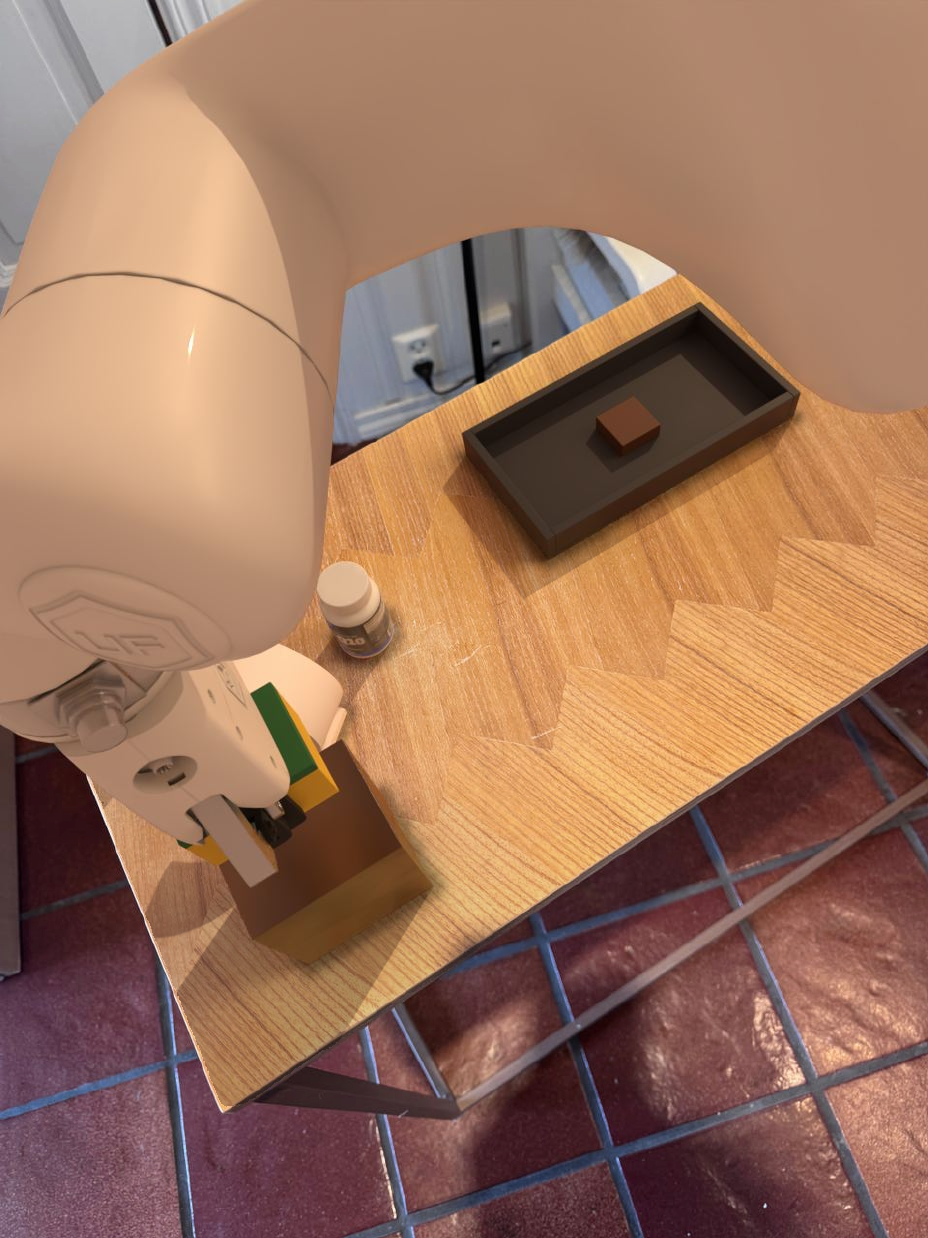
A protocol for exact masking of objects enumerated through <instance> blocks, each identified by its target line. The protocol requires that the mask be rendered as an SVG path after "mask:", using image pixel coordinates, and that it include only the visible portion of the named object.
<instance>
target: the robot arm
mask: <svg viewBox="0 0 928 1238" xmlns="http://www.w3.org/2000/svg"><path fill="white" fill-rule="evenodd" d="M546 227H547V228H555V229H568V230H577V231H579V230H580V231H583V232H587V233H591V234H595V235H600V236H602V237H606V238H609V239H614V240H616V241H619V242H621V243H623V244H626V245H627V246H630V247H633V248H634V249H637V250H640V251H641V252H644V253H645V254H647V255H648V256H650V257H652V258H653V259H655V260H657V261H659V262H661V263H662V264H663V265H664V266H665V265H666V266H667V267H668V268H671V270H673V271H675V272H676V273H678V275H680V276H681V277H682V278H684V279H686V280H687V281H688V282H689V283H691V284H692V285H694V286H695V287H696V288H697V289H699V290H700V291H701V292H703V293H704V294H705V295H707V296H708V297H709V298H710V299H711V300H712V301H714V302H715V303H716V304H717V305H718V306H719V307H721V308H722V309H723V310H724V311H725V312H726V313H728V314H729V316H731V317H732V318H733V319H734V320H735V321H736V322H737V323H738V325H740V327H742V329H744V330H745V331H746V332H747V333H748V334H749V336H751V337H752V338H753V339H754V341H756V343H757V344H759V346H760V347H761V348H763V350H764V351H766V353H767V354H768V355H769V356H771V358H773V359H774V361H776V362H777V363H778V365H780V367H781V368H783V369H784V370H785V372H786V373H787V374H788V375H790V377H792V379H794V381H796V382H797V383H799V385H802V386H803V387H804V388H806V389H807V390H809V391H810V392H811V393H813V394H814V395H815V396H817V397H818V398H820V399H821V400H822V401H825V402H827V403H829V404H832V405H834V406H836V407H837V406H838V407H840V408H842V409H845V410H847V411H849V412H850V411H851V412H852V413H859V414H861V413H862V414H873V415H885V416H890V415H893V414H898V413H899V414H900V413H905V412H910V411H914V410H918V409H922V408H925V407H928V0H242V1H241V2H239V3H238V4H236V5H234V6H233V7H231V8H229V9H227V10H226V11H224V12H223V13H221V14H219V15H218V16H216V17H214V18H212V19H211V20H209V21H207V22H206V23H203V25H200V26H199V27H197V28H195V29H194V30H192V31H191V32H189V33H187V34H186V35H184V36H182V37H181V38H179V39H177V40H176V41H174V42H172V43H171V44H170V45H168V46H166V47H164V48H163V49H162V50H160V51H159V52H157V53H155V54H153V55H152V56H151V57H150V58H148V59H146V60H145V61H143V62H142V63H141V64H139V65H137V66H136V67H135V68H134V69H132V70H130V71H129V72H128V73H127V74H125V76H123V77H122V78H121V79H120V80H118V81H117V82H116V83H115V84H114V85H113V86H111V88H110V89H108V90H107V91H106V92H105V93H103V94H102V95H101V97H100V98H99V99H97V101H96V102H94V103H93V105H91V107H90V108H89V109H88V110H87V111H86V112H85V114H84V115H83V117H82V118H81V119H80V120H79V122H78V123H77V124H76V126H75V127H74V129H73V130H72V131H71V133H70V134H69V136H67V138H66V140H65V141H64V142H63V144H62V146H61V148H60V149H59V151H58V153H57V155H56V158H55V160H54V162H53V165H52V167H51V170H50V173H49V175H48V178H47V180H46V182H45V185H44V188H43V190H42V192H41V195H40V198H39V200H38V203H37V206H36V208H35V211H34V213H33V216H32V218H31V221H30V225H29V228H28V231H27V233H26V236H25V239H24V243H23V245H22V248H21V251H20V255H19V258H18V261H17V264H16V266H15V270H14V272H13V275H12V279H11V282H10V285H9V288H8V291H7V294H6V297H5V299H4V303H3V306H2V309H1V312H0V726H2V727H3V728H5V729H7V730H9V731H11V732H12V733H14V734H15V735H17V736H20V737H23V738H25V739H27V740H30V741H35V742H42V743H48V744H54V746H55V747H56V748H57V749H58V750H59V752H61V754H63V755H64V756H65V757H66V758H67V759H68V760H69V761H70V762H71V763H72V764H74V765H75V767H76V768H78V769H79V770H80V771H81V772H82V773H84V774H85V775H86V776H87V777H88V778H90V780H92V781H93V782H94V783H96V784H97V785H98V786H99V787H100V788H101V789H102V790H104V792H106V793H107V794H109V795H110V796H111V797H112V798H114V799H115V800H116V801H118V802H119V803H121V804H122V806H124V807H126V808H127V809H128V810H129V811H131V813H134V814H135V815H136V816H138V817H139V818H141V819H142V820H143V821H145V822H147V824H150V826H152V827H153V828H156V829H157V830H159V831H161V832H162V833H164V834H166V835H167V836H169V837H171V838H173V839H175V840H176V839H178V840H180V841H182V842H185V843H188V844H193V845H204V844H205V843H206V841H205V838H206V837H208V836H209V835H208V833H209V834H210V835H211V837H212V838H213V839H214V841H215V842H216V843H217V845H218V846H219V847H220V849H221V850H222V851H223V853H224V854H225V855H226V857H227V858H228V859H229V861H230V862H231V863H232V865H233V866H234V867H235V869H236V870H237V871H238V873H239V874H240V875H241V877H242V878H243V879H244V881H245V882H246V883H247V885H248V886H249V887H250V888H253V887H254V886H256V885H257V884H259V883H261V882H262V881H264V880H265V879H267V878H269V877H270V876H272V875H273V874H275V873H277V872H278V866H277V861H276V857H275V852H274V850H273V849H275V848H276V847H278V846H280V845H281V844H283V843H285V842H286V841H288V840H289V839H290V838H291V836H292V832H291V830H292V829H293V828H295V827H297V826H298V825H300V824H302V823H303V822H304V821H305V820H306V819H307V817H306V815H305V813H304V811H303V809H302V808H301V807H300V806H299V805H298V804H297V803H296V802H295V801H293V800H292V799H291V798H290V797H289V796H288V795H287V793H288V790H289V785H290V776H289V773H288V770H287V767H286V765H285V763H284V760H283V758H282V756H281V754H280V752H279V750H278V748H277V746H276V744H275V742H274V740H273V738H272V736H271V734H270V732H269V730H268V728H267V726H266V724H265V722H264V720H263V718H262V716H261V714H260V712H259V710H258V708H257V706H256V704H255V702H254V701H253V699H252V697H251V695H250V693H249V691H248V689H247V687H246V685H245V683H244V681H243V679H242V678H241V676H240V674H239V672H238V670H237V668H236V666H235V664H234V662H233V661H234V660H239V659H243V658H248V657H251V656H254V655H257V654H260V653H262V652H264V651H266V650H268V649H270V648H272V647H274V646H276V645H277V644H281V642H283V641H284V640H285V639H287V638H288V637H289V636H290V635H291V634H292V633H293V632H294V631H295V630H297V628H298V626H299V625H300V624H301V623H302V621H303V620H304V618H305V616H306V614H307V613H308V611H309V608H310V606H311V604H312V602H313V600H314V596H315V594H316V592H317V591H316V588H317V584H318V579H319V575H320V574H321V569H322V563H323V559H324V544H325V543H324V542H325V531H326V518H327V509H328V497H329V486H330V474H331V463H332V453H333V452H332V451H333V441H334V440H333V439H334V429H335V413H336V412H335V411H336V404H337V403H336V402H337V394H338V393H337V392H338V385H339V384H338V383H339V371H340V358H341V347H342V345H341V344H342V333H343V322H344V314H345V305H346V295H347V291H349V290H350V289H352V288H354V287H355V286H357V285H359V284H361V283H363V282H366V281H367V280H369V279H372V278H374V277H376V276H379V275H381V274H383V273H385V272H388V271H390V270H392V269H395V268H396V267H399V266H402V265H403V264H407V263H409V262H411V261H413V260H416V259H418V258H420V257H423V256H425V255H428V254H431V253H433V252H436V251H438V250H441V249H443V248H445V247H448V246H451V245H453V244H456V243H459V242H460V243H461V242H463V241H466V240H469V239H473V238H477V237H479V236H484V235H489V234H493V233H497V232H502V231H508V230H513V229H529V228H531V229H532V228H546ZM207 831H208V833H207Z"/></svg>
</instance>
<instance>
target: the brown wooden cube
mask: <svg viewBox="0 0 928 1238" xmlns="http://www.w3.org/2000/svg"><path fill="white" fill-rule="evenodd" d="M319 754H320V756H321V758H322V760H323V762H324V764H325V766H326V767H327V769H328V771H329V773H330V775H331V777H332V779H333V780H334V782H335V784H336V786H337V788H338V790H339V792H337V793H336V794H334V795H332V796H331V797H329V798H327V799H326V800H324V801H323V802H321V803H319V804H318V805H316V806H314V807H313V808H311V809H310V810H308V811H306V812H305V815H306V817H307V819H306V820H305V821H304V822H303V823H302V824H300V825H298V826H297V827H295V828H293V829H292V830H291V832H292V836H291V838H290V839H289V840H288V841H286V842H285V843H283V844H281V845H280V846H278V847H276V848H275V849H273V850H274V852H275V857H276V861H277V866H278V872H277V873H275V874H273V875H272V876H270V877H269V878H267V879H265V880H264V881H262V882H261V883H259V884H257V885H256V886H254V887H253V888H250V887H249V886H248V885H247V883H246V882H245V881H244V879H243V878H242V877H241V875H240V874H239V873H238V871H237V870H236V869H235V867H234V866H233V865H232V863H231V862H230V861H229V859H228V860H227V861H225V862H223V863H222V864H220V865H219V866H218V868H219V870H220V871H221V874H222V876H223V879H224V882H225V883H226V885H227V887H228V890H229V892H230V895H231V896H232V899H233V901H234V903H235V905H236V908H237V910H238V912H239V914H240V918H241V919H242V921H243V924H244V926H245V928H246V930H247V933H248V935H249V937H250V939H251V940H252V941H254V942H256V943H258V944H260V945H262V946H266V947H267V948H269V949H272V950H275V951H277V952H279V953H281V954H284V955H287V956H289V957H291V958H293V959H296V960H298V961H301V962H302V963H306V964H308V965H311V964H312V963H314V962H316V961H318V960H319V959H321V958H323V957H324V956H326V955H327V954H328V953H330V952H332V951H333V950H335V949H336V948H338V947H339V946H341V945H343V944H344V943H346V942H348V941H349V940H351V939H352V938H354V937H355V936H357V935H358V934H360V933H361V932H363V931H365V930H366V929H368V928H369V927H371V926H373V925H374V924H376V923H377V922H379V921H381V920H382V919H384V918H385V917H387V916H388V915H390V914H392V913H393V912H395V911H396V910H398V909H400V908H401V907H403V906H404V905H406V904H407V903H409V902H411V901H412V900H414V899H416V898H417V897H419V896H420V895H422V894H424V893H425V892H426V891H428V890H429V889H431V888H432V887H434V884H433V882H432V881H431V879H430V877H429V875H428V874H427V871H426V870H425V868H424V866H423V864H422V862H421V861H420V859H419V858H418V856H417V854H416V852H415V851H414V849H413V847H412V845H411V843H410V841H409V839H408V838H407V836H406V835H405V832H404V831H403V829H402V827H401V826H400V823H399V822H398V820H397V818H396V817H395V815H394V813H393V811H392V810H391V808H390V806H389V805H388V803H387V800H386V799H385V798H384V796H383V794H382V792H381V791H380V789H379V787H377V785H376V784H375V782H374V781H373V780H372V778H371V776H370V775H369V774H368V773H367V772H366V769H365V768H364V767H363V766H362V764H361V763H360V761H359V760H358V758H357V757H356V756H355V754H354V753H353V752H352V750H351V749H350V747H349V746H348V745H347V743H346V742H345V740H344V739H343V738H341V739H339V740H336V743H334V744H332V745H330V746H329V747H327V748H325V749H324V750H322V751H320V752H319Z"/></svg>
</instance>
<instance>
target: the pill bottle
mask: <svg viewBox="0 0 928 1238" xmlns="http://www.w3.org/2000/svg"><path fill="white" fill-rule="evenodd" d="M315 592H316V595H317V596H318V599H319V601H318V603H319V605H318V606H319V609H320V612H321V614H322V616H323V619H324V620H325V622H326V623H327V625H328V627H329V629H330V631H331V632H332V634H333V637H334V638H335V640H336V641H337V643H338V646H339V647H340V648H341V649H342V651H344V652H345V653H346V654H347V655H349V656H351V657H353V658H357V659H369V658H372V657H375V656H378V655H379V654H381V653H382V652H384V651H385V650H386V649H387V648H388V646H389V645H390V643H391V642H392V640H393V637H394V624H393V621H392V618H391V615H390V613H389V611H388V608H387V605H386V603H385V601H384V598H383V596H382V593H381V591H380V588H379V586H378V585H377V583H376V582H375V580H374V579H373V578H372V577H370V576H369V575H368V572H367V571H366V570H365V568H364V567H363V566H362V565H361V564H359V563H358V562H357V563H356V562H354V561H349V560H341V561H336V562H333V563H332V564H330V565H328V566H327V567H325V568H324V569H323V570H322V571H321V572H320V574H319V579H318V584H317V588H316V591H315Z"/></svg>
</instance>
